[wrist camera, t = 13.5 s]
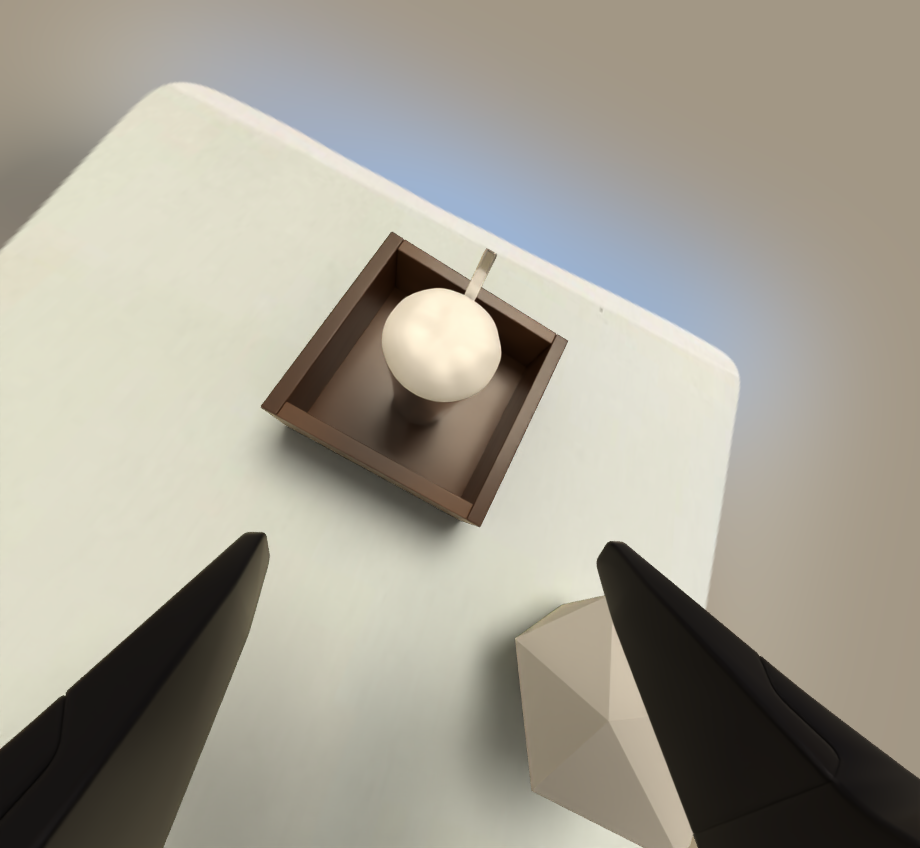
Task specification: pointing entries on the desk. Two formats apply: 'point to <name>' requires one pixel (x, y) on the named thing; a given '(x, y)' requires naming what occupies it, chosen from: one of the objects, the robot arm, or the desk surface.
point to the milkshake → (440, 349)
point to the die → (594, 728)
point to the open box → (372, 398)
